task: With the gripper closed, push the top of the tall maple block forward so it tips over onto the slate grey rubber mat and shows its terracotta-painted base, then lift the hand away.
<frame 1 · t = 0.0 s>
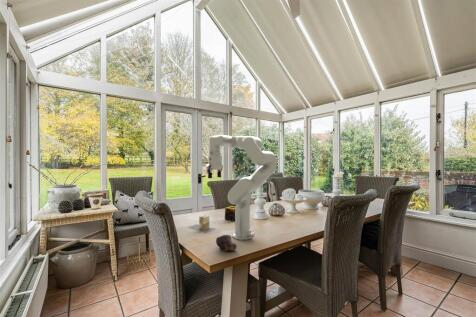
hand: (214, 177, 158), 37 cm above the table, tool pointing down, fingers open, 9 cm apart
maple block: (204, 229, 158), resting on mat
mat: (201, 228, 160), on the table
candle: (232, 219, 186), on the table
rock: (225, 250, 123), on the table
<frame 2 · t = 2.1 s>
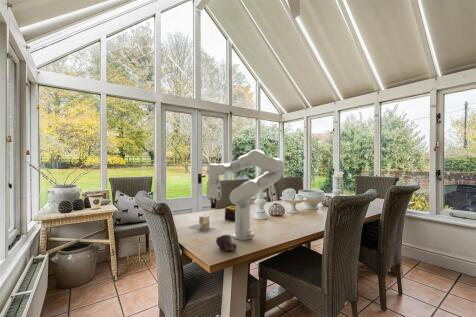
hand: (213, 208, 153), 16 cm above the table, tool pointing down, fingers closed
nothing on the table moved.
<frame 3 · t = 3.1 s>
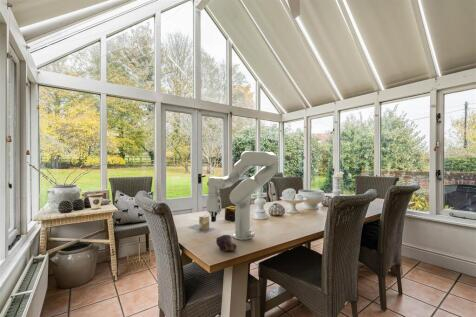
hand: (213, 221, 153), 7 cm above the table, tool pointing down, fingers closed
nothing on the table moved.
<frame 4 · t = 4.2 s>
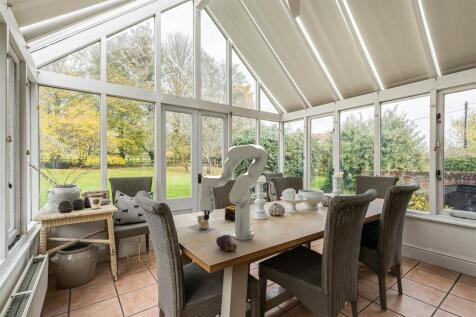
hand: (206, 219, 156), 7 cm above the table, tool pointing down, fingers closed
maple block: (204, 228, 158), point 1 cm above the table, tilted 14°, touching gripper, mat
everything else where it was.
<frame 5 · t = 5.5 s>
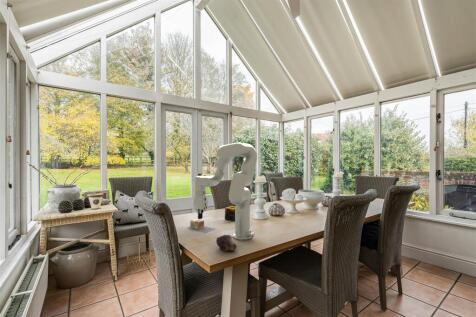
hand: (200, 218, 160), 7 cm above the table, tool pointing down, fingers closed
maple block: (201, 224, 159), point 3 cm above the table, tilted 90°, touching mat
everything else where it was.
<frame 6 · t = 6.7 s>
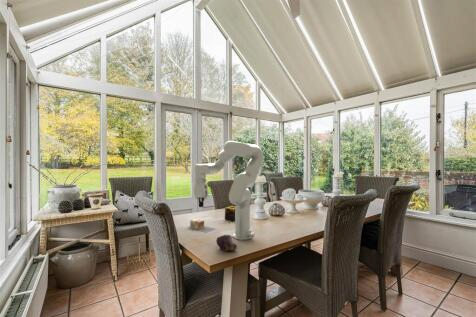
hand: (201, 206, 160), 16 cm above the table, tool pointing down, fingers closed
nothing on the table moved.
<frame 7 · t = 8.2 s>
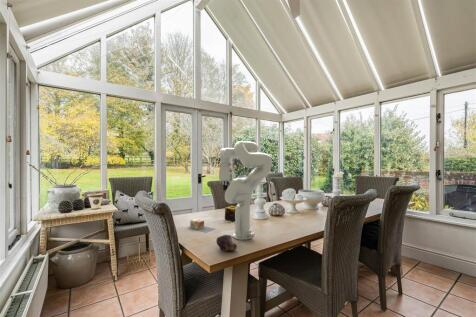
hand: (225, 190, 165), 27 cm above the table, tool pointing down, fingers closed
nothing on the table moved.
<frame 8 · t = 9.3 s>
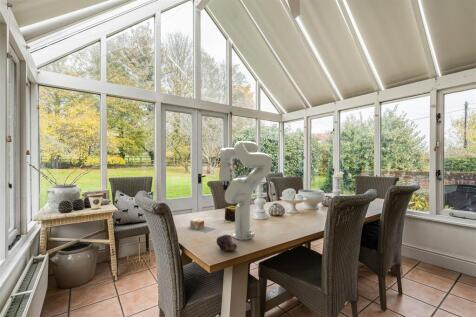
hand: (225, 190, 165), 27 cm above the table, tool pointing down, fingers closed
nothing on the table moved.
at the end: maple block tilted 90°; maple block inside the target area (1.0 cm from its centre), point 2.9 cm above the table; maple block touching mat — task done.
